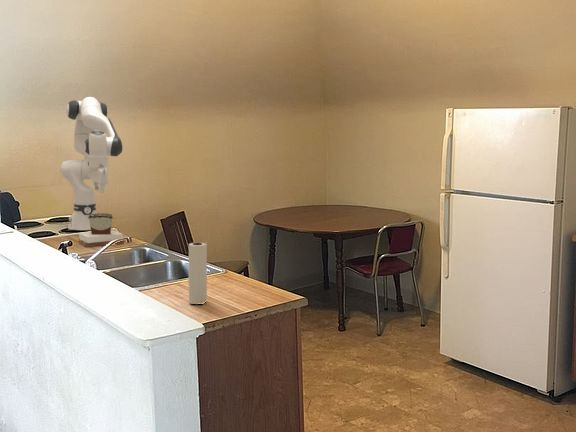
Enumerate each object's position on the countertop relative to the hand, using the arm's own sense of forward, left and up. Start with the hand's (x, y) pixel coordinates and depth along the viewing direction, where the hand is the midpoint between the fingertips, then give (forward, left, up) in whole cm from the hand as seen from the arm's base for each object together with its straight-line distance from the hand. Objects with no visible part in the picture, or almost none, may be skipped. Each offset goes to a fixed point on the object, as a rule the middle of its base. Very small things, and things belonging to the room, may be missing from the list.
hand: (99, 191), depth 335 cm
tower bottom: (+2, 0, -27) cm, 27 cm away
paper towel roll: (+123, +1, -27) cm, 126 cm away
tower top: (+1, 0, -24) cm, 24 cm away
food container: (+2, 0, -21) cm, 22 cm away
